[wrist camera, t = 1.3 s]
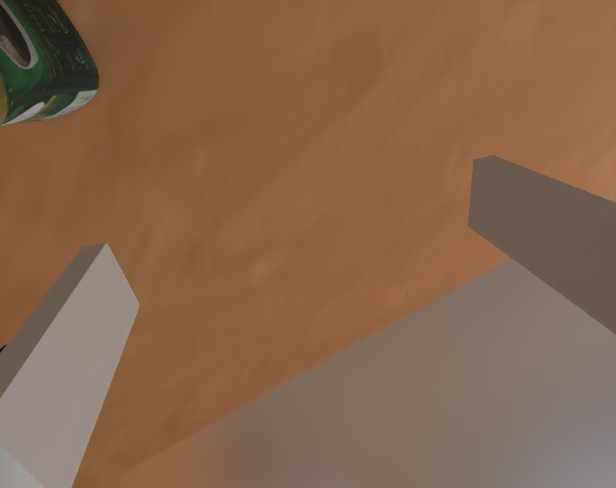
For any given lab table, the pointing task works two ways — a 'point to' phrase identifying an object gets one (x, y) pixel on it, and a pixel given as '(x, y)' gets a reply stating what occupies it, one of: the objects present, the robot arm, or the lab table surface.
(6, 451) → the robot arm
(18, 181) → the lab table surface
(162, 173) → the lab table surface
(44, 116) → the coffee jar
